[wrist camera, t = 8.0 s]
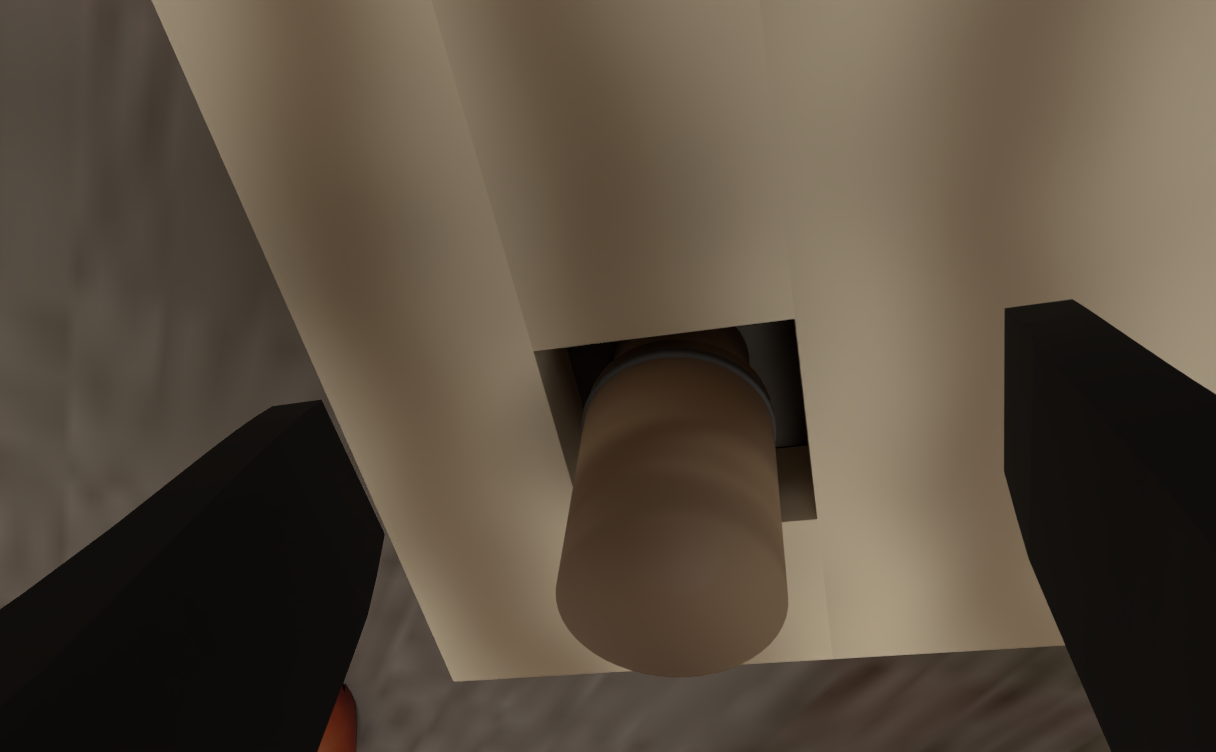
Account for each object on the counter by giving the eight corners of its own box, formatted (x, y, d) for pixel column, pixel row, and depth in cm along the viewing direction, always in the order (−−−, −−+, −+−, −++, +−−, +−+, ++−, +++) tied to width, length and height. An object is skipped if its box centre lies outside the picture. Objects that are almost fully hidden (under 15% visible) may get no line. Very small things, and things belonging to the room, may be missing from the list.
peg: (760, 275, 20) (781, 506, 14) (777, 422, 22) (800, 673, 17) (578, 297, 21) (528, 525, 15) (611, 438, 23) (578, 684, 17)
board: (1335, -361, 14) (1446, -373, 12) (1181, 554, 23) (1226, 635, 21) (191, -98, 17) (119, -72, 15) (473, 606, 27) (453, 681, 25)
